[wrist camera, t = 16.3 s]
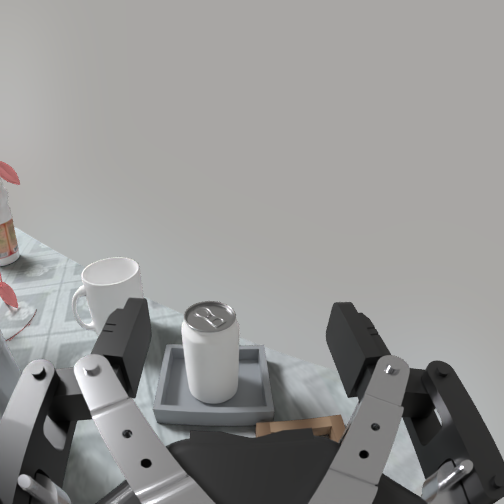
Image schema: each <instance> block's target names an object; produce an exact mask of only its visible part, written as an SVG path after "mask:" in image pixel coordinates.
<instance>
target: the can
mask: <svg viewBox="0 0 504 504" xmlns="http://www.w3.org/2000/svg"><path fill="white" fill-rule="evenodd" d="M182 341H183V349H184V357H185V365H186V372H187V378H188V385H189V389H190V392H191V394H192V395H193V396H194V397H195V398H196V399H198V400H200V401H202V402H205V403H209V404H218V403H222V402H225V401H227V400H229V399H231V398H232V397H233V396H234V395H235V393H236V392H237V389H238V369H239V324H238V321H237V319H236V314H235V311H234V310H233V309H232V308H231V307H230V306H228V305H226V304H224V303H221V302H215V301H205V302H200V303H196V304H194V305H192V306H190V307H189V308H188V309H187V310H186V312H185V314H184V321H183V323H182Z"/></svg>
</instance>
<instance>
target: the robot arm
mask: <svg viewBox="0 0 504 504" xmlns="http://www.w3.org/2000/svg"><path fill="white" fill-rule="evenodd" d="M150 341H151V324H150V317H149V310H148V304H147V300H146V299H145V298H128V300H127V302H126V304H125V306H124V308H123V309H120V308H117V309H116V310H115V311H113V312H112V313H111V314H110V315H109V316H108V318H107V320H106V323H105V325H104V327H103V329H102V332H101V333H100V335H99V337H98V339H97V341H96V343H95V345H94V348H93V350H92V352H91V354H90V355H87V356H84V357H82V358H81V359H79V360H78V361H77V362H76V364H75V366H74V367H71V368H61V369H55V368H54V365H53V364H52V363H51V362H50V361H49V360H46V359H37V360H34V361H32V362H30V363H29V364H28V365H27V366H26V367H25V369H24V371H23V373H22V372H21V371H20V369H19V367H18V365H17V363H16V361H15V359H14V357H13V355H12V353H11V351H10V349H9V347H8V345H7V343H6V341H5V339H4V337H3V334H2V332H1V330H0V504H71V501H70V498H69V496H68V495H67V494H66V493H65V492H64V491H63V490H62V486H63V480H64V475H65V470H66V465H67V461H68V456H69V452H70V447H71V443H72V439H73V435H74V431H75V427H76V424H77V420H89V419H93V420H94V422H95V424H96V426H97V428H98V430H99V432H100V434H101V436H102V438H103V440H104V442H105V444H106V446H107V447H108V449H109V451H110V453H111V455H112V457H113V458H114V460H115V462H116V463H117V465H118V467H119V469H120V470H121V472H122V474H123V475H124V477H125V478H126V480H125V481H123V482H122V483H121V484H120V485H119V486H117V487H116V488H115V489H114V490H112V491H111V492H110V493H109V494H107V495H106V496H105V497H104V498H102V499H101V500H100V501H98V502H97V503H96V504H493V503H495V502H496V501H498V500H499V499H501V498H502V497H504V461H503V459H502V456H501V454H500V452H499V450H498V448H497V446H496V444H495V442H494V440H493V438H492V436H491V434H490V432H489V430H488V428H487V426H486V425H485V423H484V421H483V419H482V417H481V415H480V414H479V412H478V410H477V408H476V406H475V405H474V403H473V401H472V400H471V398H470V396H469V394H468V392H467V391H466V389H465V387H464V386H463V384H462V382H461V381H460V379H459V378H458V376H457V374H456V373H455V371H454V369H453V368H452V367H451V366H450V365H448V364H447V363H445V362H442V361H433V362H431V363H429V365H428V366H427V368H426V370H422V369H413V368H409V366H408V364H407V363H406V362H405V361H404V360H403V359H401V358H399V357H397V356H393V355H391V354H390V352H389V350H388V349H387V347H386V345H385V343H384V342H383V340H382V338H381V337H380V335H378V332H377V330H376V329H375V327H374V325H373V324H372V322H371V320H370V319H369V318H368V317H366V316H365V315H364V314H363V313H358V312H357V310H356V309H355V307H354V305H353V304H352V303H351V302H336V303H334V304H333V307H332V310H331V314H330V318H329V322H328V326H327V330H326V341H327V344H328V347H329V350H330V352H331V355H332V357H333V360H334V362H335V365H336V368H337V370H338V373H339V375H340V378H341V381H342V383H343V386H344V389H345V391H346V394H347V397H348V398H351V397H358V399H359V402H358V404H357V406H356V408H355V410H354V412H353V414H352V416H351V418H350V420H349V422H348V424H347V426H346V428H345V430H344V432H343V434H342V436H341V438H340V440H339V442H338V443H337V442H336V441H333V440H331V439H328V438H325V437H320V436H314V435H313V431H312V428H303V429H291V430H282V431H278V432H275V433H271V434H267V435H264V436H260V437H256V438H249V437H243V436H238V435H233V434H229V433H224V432H211V431H190V439H184V440H180V441H177V442H174V443H172V444H170V445H168V446H166V447H165V445H164V444H163V443H162V441H161V440H160V439H159V437H158V436H157V434H156V433H155V432H154V430H153V429H152V427H151V426H150V424H149V423H148V422H147V420H146V419H145V417H144V416H143V414H142V413H141V411H140V409H139V408H138V406H137V405H136V403H135V402H134V400H133V399H132V398H136V394H137V390H138V386H139V382H140V378H141V374H142V370H143V366H144V363H145V359H146V355H147V352H148V348H149V344H150ZM435 408H436V409H437V411H438V413H439V415H440V418H441V421H442V426H441V424H440V422H439V420H438V418H437V416H436V414H435V411H434V409H435ZM401 417H403V420H404V423H405V425H406V428H407V430H408V433H409V435H410V438H411V441H412V443H413V446H414V449H415V451H416V454H417V457H418V459H419V462H420V465H421V468H422V471H423V474H424V476H425V479H426V481H425V482H424V484H423V487H422V495H421V497H419V496H418V495H416V494H414V493H413V492H411V491H410V490H408V489H406V488H405V487H403V486H401V485H400V484H398V483H397V482H395V481H394V480H392V479H390V478H389V477H387V476H386V475H384V474H383V473H382V472H383V470H384V467H385V465H386V462H387V459H388V457H389V454H390V451H391V448H392V445H393V442H394V439H395V436H396V433H397V430H398V427H399V424H400V421H401Z"/></svg>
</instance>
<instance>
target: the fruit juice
mask: <svg viewBox="0 0 504 504" xmlns="http://www.w3.org/2000/svg"><path fill="white" fill-rule="evenodd" d="M19 255H20V254H19V249H18V244H17V240H16V235H15V230H14V225H13V220H12V214H11V210H10V207H9V206H8V192H7V189H6V188H5V186H4V185H3V183H2V181H1V178H0V266H5V265H8V264H11V263H13V262H14V261H16V260H17V259H18V258H19Z"/></svg>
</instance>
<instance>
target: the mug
mask: <svg viewBox="0 0 504 504" xmlns="http://www.w3.org/2000/svg"><path fill="white" fill-rule="evenodd" d="M81 278H82V282H83V286H81V287H79V289H78V290H77V291H76V292H75V294H74V296H73V299H72V310H73V314H74V317H75V319H76V321H77V323H78V324H79V325H80V326H81V327H82V328H84V329H86V330H92V331H95V332H96V333H97V336H98V337H99V335H100V333H101V332H102V329H103V327H104V325H105V323H106V320H107V318H108V316H109V315H110V314H111V313H112V312H113V311H115V310H116V309H117V308H120V309H123V308H124V306H125V304H126V302H127V300H128V298H144V294H143V287H142V281H141V273H140V266H139V264H138V263H137V262H136V261H135V260H132V259H129V258H124V257H114V258H107V259H102V260H99V261H96V262H94V263H92V264H90V265H89V266H87V267H86V268H85V269H84V270H83V272H82V274H81ZM83 296H86V298H87V302H88V306H89V310H90V314H91V317H92V320H93V321H92V322H91V324H85V323H83V322H82V321H81V319H80V317H79V316H78V312H77V307H76V304H77V300H78V298H79V297H83Z"/></svg>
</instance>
